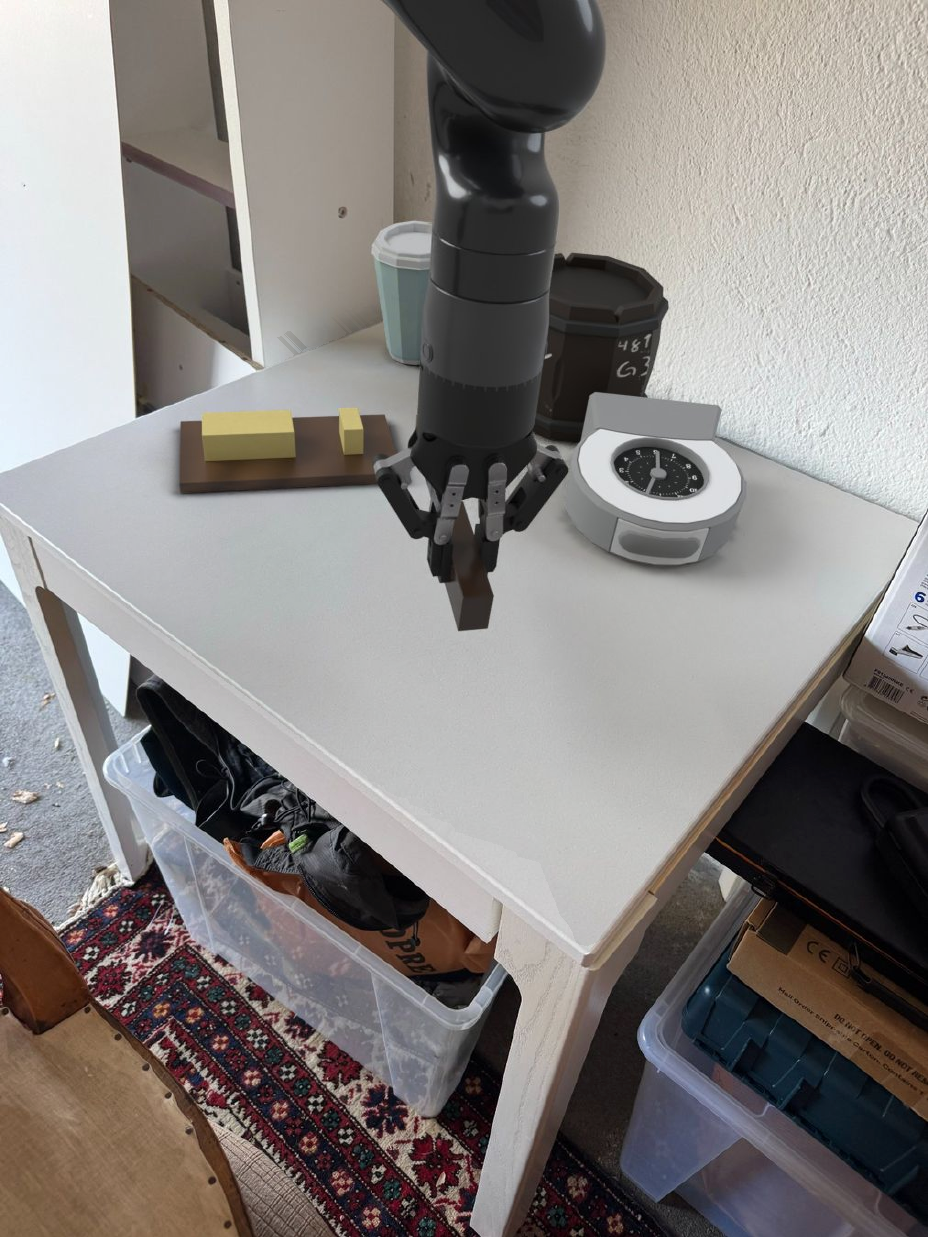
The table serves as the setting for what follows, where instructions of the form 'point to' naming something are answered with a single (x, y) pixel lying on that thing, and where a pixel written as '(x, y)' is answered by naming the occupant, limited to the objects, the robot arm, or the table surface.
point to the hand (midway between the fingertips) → (460, 573)
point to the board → (287, 459)
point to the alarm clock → (653, 480)
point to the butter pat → (351, 431)
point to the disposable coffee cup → (403, 285)
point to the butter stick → (248, 435)
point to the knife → (467, 577)
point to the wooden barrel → (596, 338)
